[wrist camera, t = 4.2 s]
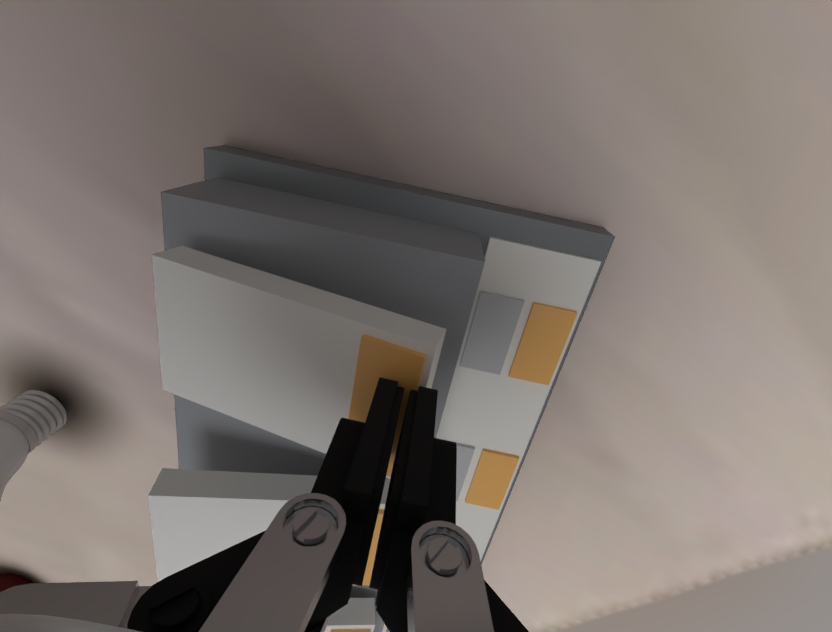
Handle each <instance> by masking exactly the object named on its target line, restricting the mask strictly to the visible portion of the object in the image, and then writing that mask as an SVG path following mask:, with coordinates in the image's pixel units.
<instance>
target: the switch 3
mask: <svg viewBox="0 0 832 632" xmlns="http://www.w3.org/2000/svg"><path fill="white" fill-rule="evenodd" d="M374 627H375V601H374V598H350V599H349V601H348V604H347V605H345V606H344V607H342V608H341V609H339V610H338V611H336V612H335V613H333V614H332V615H330V616H329V620H328V624H327V627H326V629H325V631H324V632H373V631H374Z"/></svg>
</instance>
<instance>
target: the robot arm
mask: <svg viewBox="0 0 832 632" xmlns="http://www.w3.org/2000/svg"><path fill="white" fill-rule="evenodd" d="M397 385H398V381H395V380H390V379H385V378H381V377H380V378H379V380H378V383H377V387H376V390H375V393H374V396H373V399H372V403H371V406H370V409H369V412H368V415H367V418H366V422H360V421H356V420H351V419H346V418H341V419H340V421H339V423H338V426H337V428H336V431H335V433H334V436H333V438H332V441H331V443H330V446H329V448H328V451H327V453H326V456H325V458H324V461H323V463H322V466H321V468H320V471H319V473H318V476H317V478H316V481H315V483H314V486H313V488H312V491H311V493H305V494H302V495H299V496H296V497H294V498H292V499H291V500H289V501H288V502H286V503H285V504H284V506H283V507H282V508H281V509H280V510H279V512H278V513H277V515H276V516H275V518H274V519H273V521H272V522H271V524H270V525H269V527H268V528H267V530H265V531H263V532H261V533H259V534H257V535H255V536H253V537H250V538H248V539H246V540H244V541H242V542H240V543H238V544H236V545H233V546H231V547H229V548H227V549H225V550H223V551H221V552H219V553H217V554H214V555H212V556H210V557H208V558H206V559H204V560H202V561H200V562H197V563H195V564H193V565H191V566H189V567H187V568H185V569H183V570H180V571H178V572H176V573H174V574H172V575H170V576H168V577H166V578H164V579H162V580H161V581H159V582H157V583H156V584H154V585H153V586H138V581H116V582H73V583H30V584H24V585H19V586H13V587H11V588H9V589H6V590H4V591H2V592H0V632H324V631H325V629H326V627H327V624H328V620H329V616H330V615H332V614H333V613H335V612H336V611H338V610H339V609H341V608H342V607H344V606H345V605H347V604H348V601H349V599H350V594H351V590H352V586H353V584H354V585H358V586H362V583H363V579H364V574H365V570H366V565H367V561H368V556H369V552H370V547H371V543H372V538H373V534H374V529H375V525H376V521H377V516H378V512H379V507H380V503H381V498H382V493H383V489H384V484H385V479H386V474H387V470H388V465H389V460H390V455H391V451H392V446H393V441H394V436H395V431H396V427H397V422H398V417H399V412H400V407H401V403H402V398H403V393H404V388H402V387H398V386H397ZM437 396H438V390H436V389H431V388H426V387H422V386H419V388H418V391H416V390H410V394H409V398H408V402H407V407H406V411H405V415H404V420H403V424H402V429H401V433H400V437H399V442H398V446H397V450H396V455H395V459H394V463H393V468H392V473H391V478H390V483H389V488H388V493H387V499H386V504H385V509H384V514H383V519H382V524H381V529H380V534H379V539H378V545H377V550H376V555H375V560H374V565H373V570H372V575H371V580H370V586H369V588H372V589H376V590H378V591H377V597H376V602H375V606H377V607H376V611H377V612H378V614H379V615H380V617H381V619H382V620H383V622H384V623H385V625H386V626H387V632H529V631H528V630H527V629H526V628H525V627H524V626H523V624H522V623H521V622H520V621H519V620H518V619H517V617H516V616H515V615H514V614H513V613H512V612H511V611H510V609H509V608H508V607H507V606H506V605H505V604H504V602H503V601H502V600H501V599H500V598H499V597H498V595H497V594H496V593H495V592H494V591H493V590H492V588H491V587H490V586H489V585H488V584H487V583H486V582H485V580H484V577H483V572H482V567H481V562H480V557H479V552H478V550H477V547H476V544H475V542H474V541H473V539H472V538H471V537H470V535H469V534H468V533H467V532H466V531H464V530H463V529H462V528H461V527H459V526H457V525H456V466H457V445H456V442H451V441H446V440H442V439H437V438H434V432H435V420H436V408H437Z"/></svg>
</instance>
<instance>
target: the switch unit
mask: <svg viewBox="0 0 832 632" xmlns="http://www.w3.org/2000/svg"><path fill="white" fill-rule="evenodd" d="M204 168H205V181H201V182H198V183H194V184H190V185H186V186H182V187H178V188H174V189H170V190H166V191H163V192H161V198H162V214H163V229H164V245H165V251H167V250H170V249H173V248H177V247H180V246H185V247H188V248H191V249H194V250H198V251H201V252H204V253H207V254H210V255H213V256H217V257H220V258H223V259H226V260H229V261H232V262H236V263H239V264H242V265H245V266H248V267H251V268H255V269H258V270H261V271H264V272H267V273H270V274H274V275H277V276H280V277H283V278H286V279H290V280H293V281H296V282H299V283H302V284H305V285H309V286H312V287H315V288H318V289H321V290H324V291H328V292H331V293H334V294H337V295H340V296H343V297H347V298H350V299H353V300H356V301H359V302H362V303H366V304H369V305H372V306H375V307H378V308H381V309H385V310H388V311H391V312H394V313H397V314H400V315H404V316H407V317H410V318H413V319H416V320H419V321H423V322H426V323H429V324H432V325H435V326H438V327H442V328H445V329H446V333H445V337H444V341H443V345H442V349H441V353H440V357H439V361H438V364H437V368H436V372H435V376H434V380H433V384H432V388H431V389H436V390H438V396H437V408H436V420H435V432H434V438H437V439H442V440H446V441H451V442H456V445H457V466H456V525H457V526H459V527H461V528H462V529H463V530H464V531H466V532H467V533H468V534H469V535H470V537H471V538H472V539H473V541H474V542H475V544H476V547H477V550H478V552H479V557H480V562H481V564H482V562H483V559H484V557H485V555H486V552H487V550H488V547H489V545H490V542H491V540H492V537H493V535H494V532H495V530H496V528H497V525H498V523H499V520H500V518H501V515H502V513H503V510H504V508H505V505H506V503H507V501H508V498H509V496H510V493H511V491H512V488H513V486H514V483H515V481H516V478H517V476H518V474H519V471H520V469H521V466H522V464H523V461H524V459H525V456H526V454H527V451H528V449H529V447H530V444H531V442H532V439H533V437H534V434H535V432H536V429H537V427H538V424H539V422H540V419H541V417H542V415H543V412H544V410H545V407H546V405H547V402H548V400H549V397H550V395H551V392H552V390H553V388H554V385H555V383H556V380H557V378H558V375H559V373H560V370H561V368H562V365H563V363H564V361H565V358H566V356H567V353H568V351H569V348H570V346H571V343H572V341H573V338H574V336H575V334H576V331H577V329H578V326H579V324H580V321H581V319H582V316H583V314H584V311H585V309H586V307H587V304H588V302H589V299H590V297H591V294H592V292H593V289H594V287H595V284H596V282H597V280H598V277H599V275H600V272H601V270H602V267H603V265H604V262H605V260H606V257H607V255H608V252H609V250H610V248H611V245H612V243H613V240H614V238H615V236H613V235H612V234H611V233H609V232H608V231H607V230H606V229H604V228H603V227H598V226H594V225H589V224H585V223H580V222H575V221H571V220H566V219H561V218H557V217H552V216H548V215H543V214H538V213H534V212H529V211H525V210H520V209H515V208H511V207H506V206H501V205H497V204H492V203H488V202H483V201H478V200H474V199H469V198H464V197H460V196H455V195H451V194H446V193H441V192H437V191H432V190H428V189H423V188H418V187H414V186H409V185H404V184H400V183H395V182H391V181H386V180H381V179H377V178H372V177H368V176H363V175H358V174H354V173H349V172H344V171H340V170H335V169H331V168H326V167H321V166H317V165H312V164H307V163H303V162H298V161H294V160H289V159H284V158H280V157H275V156H271V155H266V154H261V153H257V152H252V151H247V150H243V149H238V148H234V147H229V146H224V145H222V146H214V147H207V148H204ZM174 399H175V414H176V429H177V445H178V460H179V469H187V470H208V471H230V472H251V473H272V474H293V475H314V476H318V473H319V471H320V468H321V466H322V463H323V461H324V458H325V456H326V454H325V453H322V452H320V451H317V450H315V449H312V448H309V447H307V446H304V445H302V444H299V443H297V442H294V441H292V440H289V439H287V438H284V437H282V436H279V435H276V434H274V433H271V432H269V431H266V430H264V429H261V428H259V427H256V426H254V425H251V424H249V423H246V422H243V421H241V420H238V419H236V418H233V417H231V416H228V415H226V414H223V413H221V412H218V411H216V410H213V409H210V408H208V407H205V406H203V405H200V404H198V403H195V402H193V401H190V400H188V399H185V398H183V397H180V396H177V395H175V394H174ZM386 479H388V478H386ZM369 586H370V585H362V586H358V585H353V586H352V590H351V594H350V598H374V601H375V602H376V597H377V591H378V590H376V589H372V588H369ZM376 607H377V606H375V627H374V631H373V632H382V630H383V626H384V622H383V620H382V619H381V617H380V615H379V614H378V612H377V611H376Z"/></svg>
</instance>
